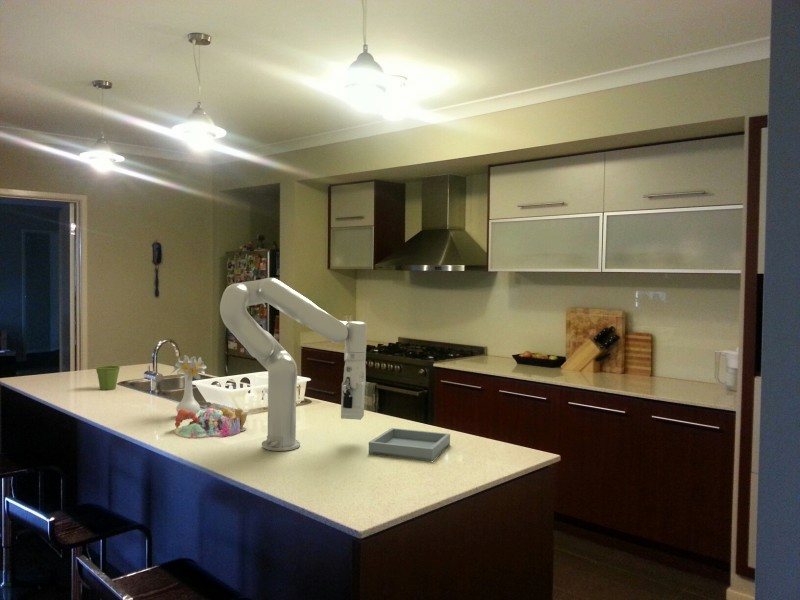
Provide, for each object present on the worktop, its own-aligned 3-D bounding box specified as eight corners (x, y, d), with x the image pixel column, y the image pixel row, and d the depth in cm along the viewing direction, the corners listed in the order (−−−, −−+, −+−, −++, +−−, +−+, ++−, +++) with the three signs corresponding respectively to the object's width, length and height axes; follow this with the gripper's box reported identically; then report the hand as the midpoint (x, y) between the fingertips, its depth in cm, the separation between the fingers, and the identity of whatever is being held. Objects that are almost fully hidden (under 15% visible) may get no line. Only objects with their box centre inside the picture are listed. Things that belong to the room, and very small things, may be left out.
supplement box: (364, 416, 224) (365, 380, 224) (360, 420, 217) (362, 383, 217) (343, 414, 225) (345, 379, 225) (339, 418, 218) (341, 382, 217)
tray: (432, 461, 200) (432, 449, 200) (368, 454, 208) (368, 442, 208) (449, 445, 221) (450, 433, 221) (391, 438, 228) (391, 427, 228)
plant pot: (125, 387, 324) (125, 365, 323) (111, 391, 312) (111, 369, 311) (104, 386, 325) (104, 365, 325) (89, 390, 313) (89, 368, 313)
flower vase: (183, 422, 248) (183, 359, 247) (165, 414, 261) (165, 355, 261) (214, 418, 256) (215, 357, 255) (195, 410, 270) (196, 353, 269)
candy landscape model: (220, 421, 253) (221, 398, 252) (257, 431, 238) (258, 407, 238) (163, 432, 233) (163, 407, 233) (199, 443, 218) (200, 417, 218)
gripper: (354, 359, 211) (352, 411, 211) (374, 355, 227) (371, 403, 228) (334, 358, 213) (332, 408, 214) (355, 353, 230) (352, 400, 230)
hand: (352, 405), depth 221 cm, fingers closed on supplement box, 8 cm apart
